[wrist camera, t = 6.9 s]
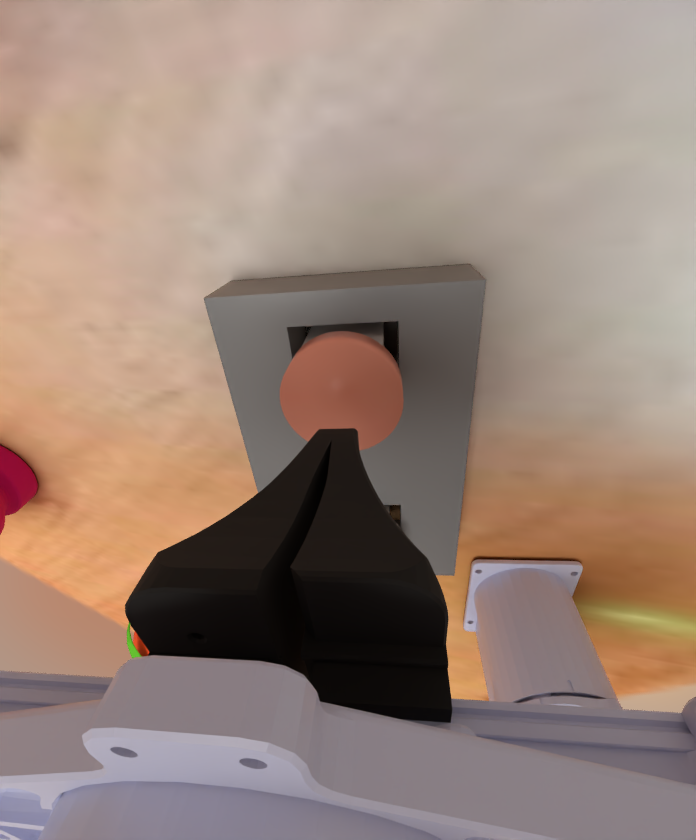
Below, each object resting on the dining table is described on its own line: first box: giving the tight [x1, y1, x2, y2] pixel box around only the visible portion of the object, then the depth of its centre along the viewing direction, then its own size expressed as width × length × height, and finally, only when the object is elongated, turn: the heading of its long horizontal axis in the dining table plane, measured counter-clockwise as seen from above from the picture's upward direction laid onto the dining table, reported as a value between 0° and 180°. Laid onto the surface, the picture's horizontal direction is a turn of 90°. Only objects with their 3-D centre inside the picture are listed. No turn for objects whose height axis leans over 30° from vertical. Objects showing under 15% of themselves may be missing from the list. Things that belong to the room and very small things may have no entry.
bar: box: [204, 264, 486, 576], centre depth 22 cm, size 19×12×4 cm, turn 5°
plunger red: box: [280, 322, 404, 451], centre depth 18 cm, size 5×5×5 cm
